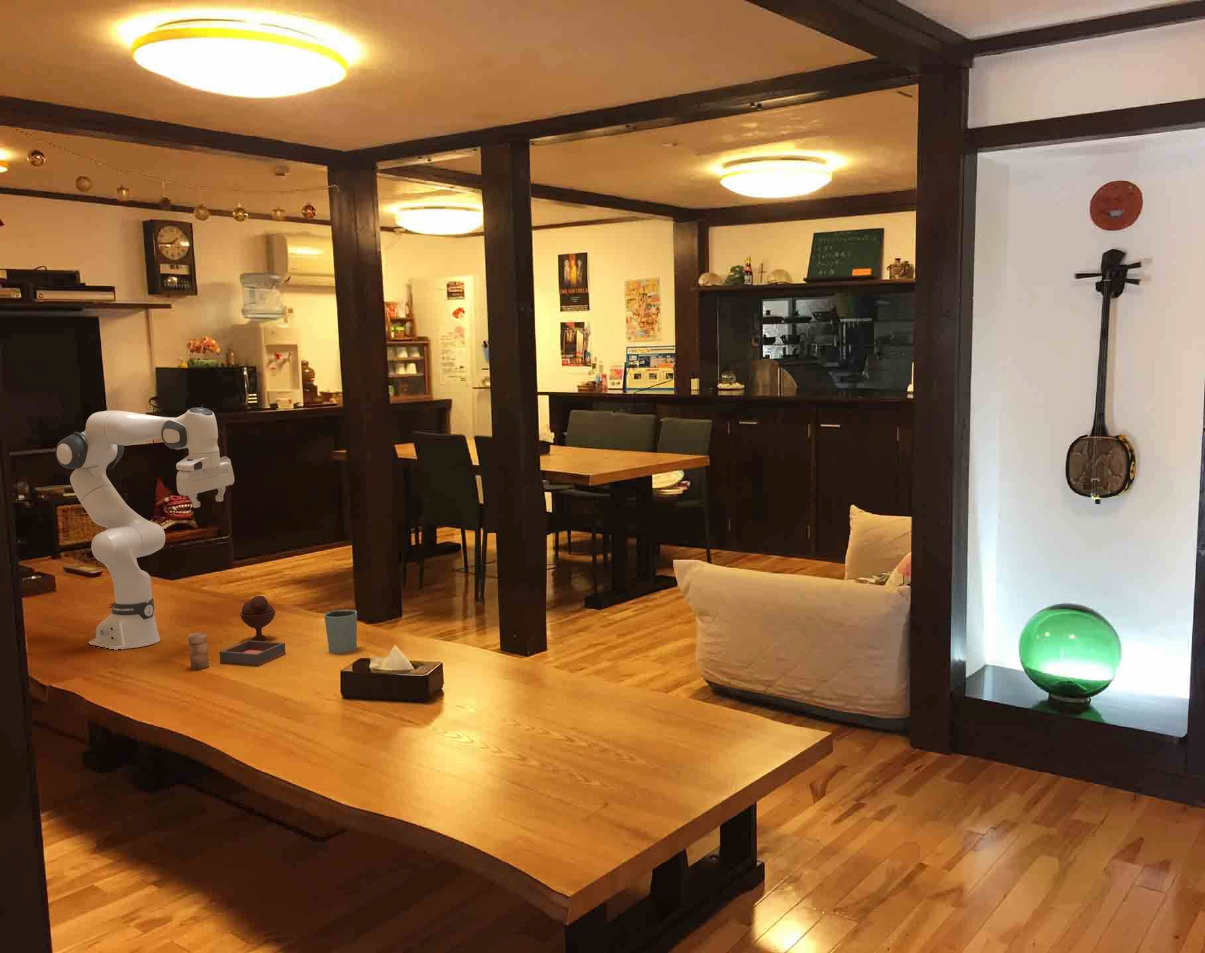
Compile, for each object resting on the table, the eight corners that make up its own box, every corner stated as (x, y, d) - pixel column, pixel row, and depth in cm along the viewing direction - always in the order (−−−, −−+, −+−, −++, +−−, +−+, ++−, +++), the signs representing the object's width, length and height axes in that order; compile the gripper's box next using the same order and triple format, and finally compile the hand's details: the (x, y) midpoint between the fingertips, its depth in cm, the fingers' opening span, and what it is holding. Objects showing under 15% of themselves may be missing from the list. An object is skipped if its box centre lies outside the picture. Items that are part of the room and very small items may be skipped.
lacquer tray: (220, 663, 313) (219, 651, 312) (248, 651, 326) (248, 640, 325) (258, 666, 308) (257, 654, 308) (285, 653, 321) (284, 642, 321)
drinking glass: (339, 656, 317) (337, 618, 316) (319, 651, 323) (317, 614, 322) (365, 648, 325) (363, 611, 324) (345, 644, 331) (343, 607, 330)
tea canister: (186, 669, 307) (184, 636, 306) (198, 664, 312) (196, 632, 311) (201, 670, 306) (198, 637, 305) (212, 665, 311) (210, 633, 309)
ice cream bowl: (281, 635, 344) (279, 591, 342) (267, 644, 333) (265, 599, 331) (251, 635, 345) (248, 591, 343) (236, 644, 334) (233, 599, 332)
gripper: (222, 454, 330) (225, 496, 332) (171, 465, 311) (175, 509, 314) (237, 455, 327) (240, 498, 330) (187, 466, 309) (190, 511, 312)
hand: (208, 504), depth 322 cm, fingers open, 8 cm apart
